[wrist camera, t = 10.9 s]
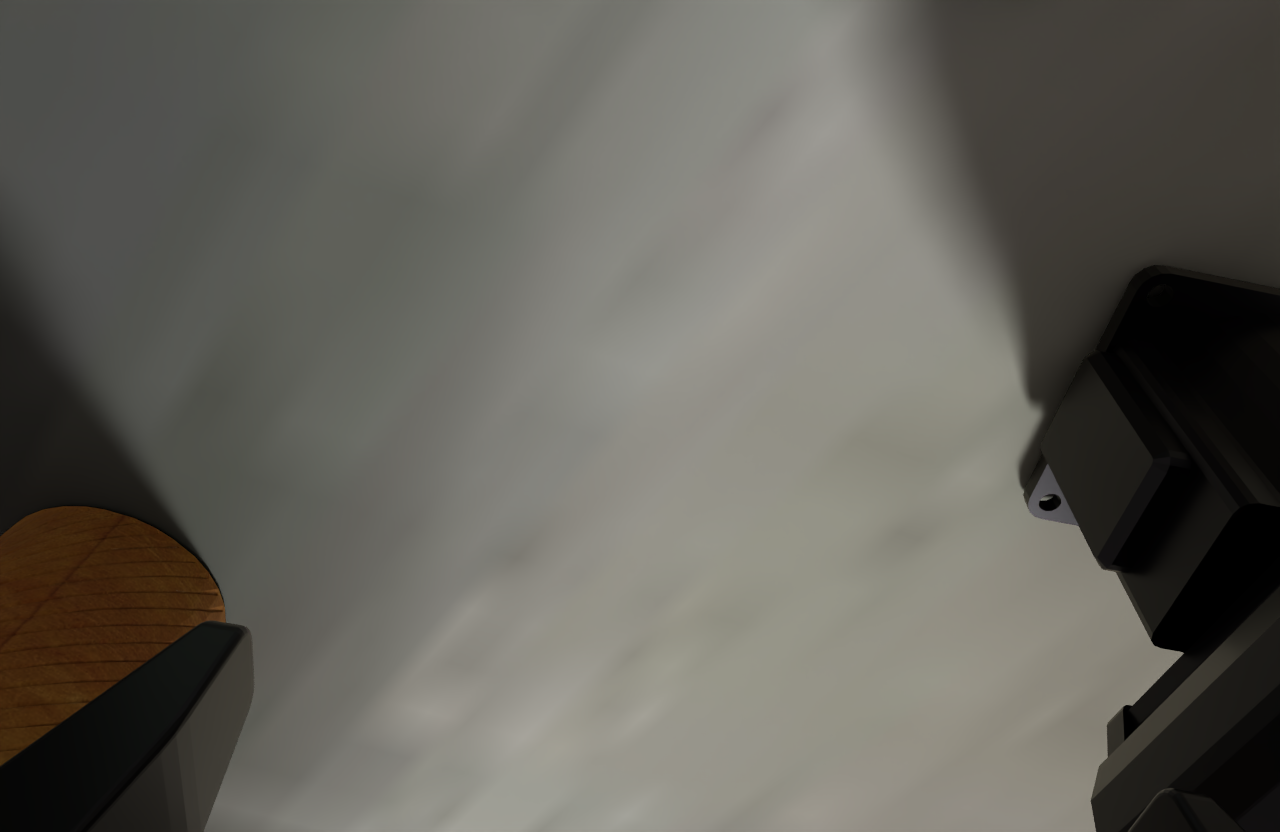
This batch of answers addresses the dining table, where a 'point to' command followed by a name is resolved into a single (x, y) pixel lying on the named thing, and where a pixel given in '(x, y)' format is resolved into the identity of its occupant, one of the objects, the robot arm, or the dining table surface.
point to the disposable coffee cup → (87, 611)
